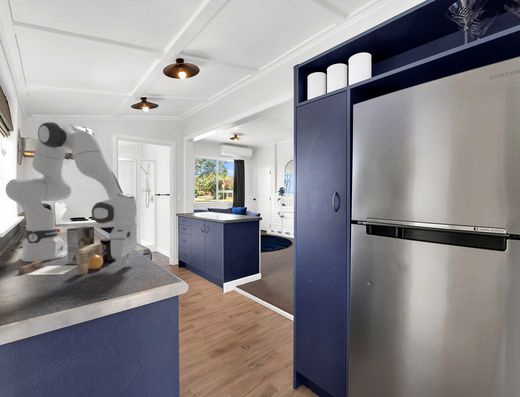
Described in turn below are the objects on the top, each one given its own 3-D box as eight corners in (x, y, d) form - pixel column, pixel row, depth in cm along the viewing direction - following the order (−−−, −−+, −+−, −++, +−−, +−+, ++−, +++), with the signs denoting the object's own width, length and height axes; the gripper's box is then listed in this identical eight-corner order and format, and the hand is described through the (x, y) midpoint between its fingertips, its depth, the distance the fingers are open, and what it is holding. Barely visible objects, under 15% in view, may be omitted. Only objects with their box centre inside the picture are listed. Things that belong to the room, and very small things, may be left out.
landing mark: (47, 266, 120) (47, 265, 120) (79, 265, 121) (79, 265, 121) (26, 275, 107) (26, 274, 107) (62, 274, 108) (62, 273, 108)
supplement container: (103, 259, 132) (102, 238, 132) (118, 259, 134) (118, 237, 134) (97, 263, 126) (97, 240, 126) (113, 262, 127) (113, 240, 127)
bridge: (77, 274, 108) (77, 250, 108) (95, 264, 123) (95, 243, 123) (85, 274, 109) (85, 250, 108) (102, 264, 123) (102, 243, 123)
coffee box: (83, 259, 134) (83, 226, 133) (94, 259, 132) (94, 226, 132) (66, 263, 125) (66, 228, 124) (78, 264, 123) (78, 229, 123)
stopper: (37, 266, 119) (37, 260, 119) (42, 266, 119) (42, 260, 119) (18, 274, 108) (18, 267, 108) (24, 274, 109) (24, 267, 108)
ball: (89, 255, 119) (104, 252, 119) (92, 268, 119) (106, 265, 120) (82, 258, 113) (97, 255, 113) (85, 272, 113) (100, 269, 114)
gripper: (126, 228, 127) (126, 258, 127) (107, 235, 107) (107, 270, 107) (140, 228, 128) (140, 257, 128) (124, 235, 108) (124, 270, 108)
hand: (125, 263), depth 118 cm, fingers closed
